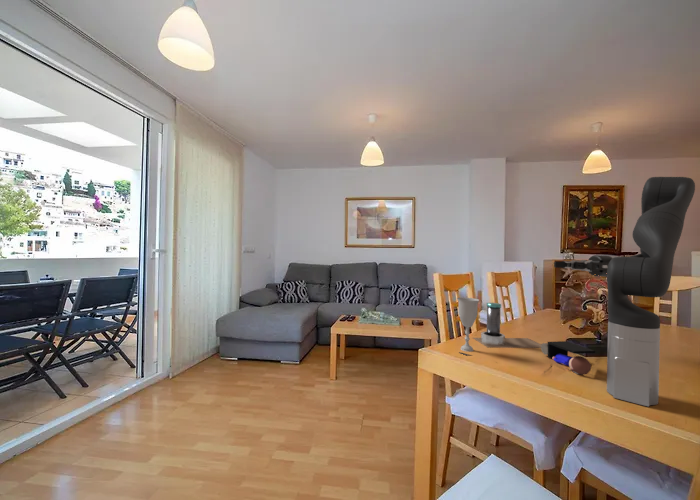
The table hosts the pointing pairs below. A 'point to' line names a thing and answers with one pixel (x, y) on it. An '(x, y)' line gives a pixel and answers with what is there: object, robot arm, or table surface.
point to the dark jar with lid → (493, 319)
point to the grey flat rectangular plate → (514, 343)
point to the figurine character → (560, 354)
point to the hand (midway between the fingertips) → (563, 265)
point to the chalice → (467, 318)
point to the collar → (493, 339)
